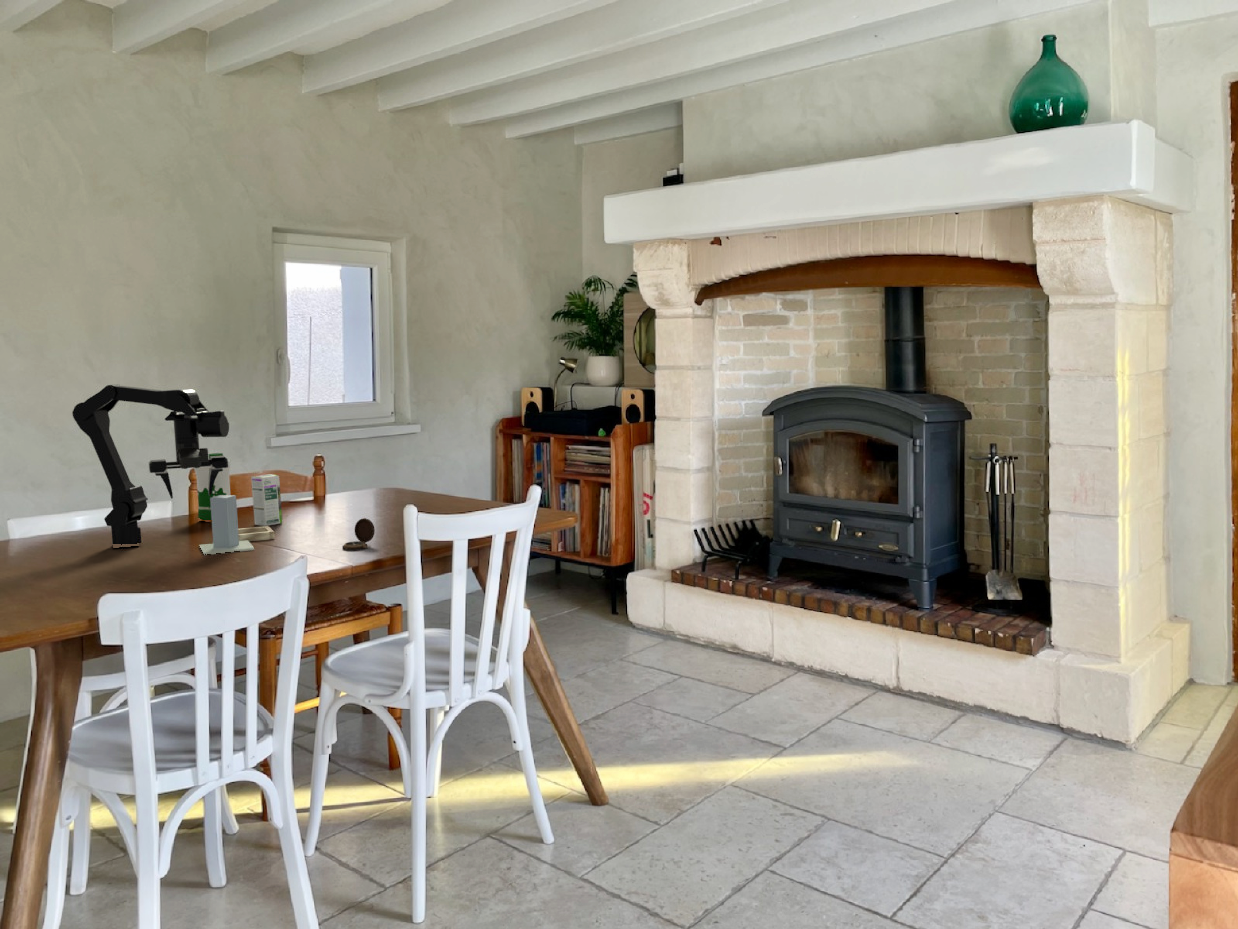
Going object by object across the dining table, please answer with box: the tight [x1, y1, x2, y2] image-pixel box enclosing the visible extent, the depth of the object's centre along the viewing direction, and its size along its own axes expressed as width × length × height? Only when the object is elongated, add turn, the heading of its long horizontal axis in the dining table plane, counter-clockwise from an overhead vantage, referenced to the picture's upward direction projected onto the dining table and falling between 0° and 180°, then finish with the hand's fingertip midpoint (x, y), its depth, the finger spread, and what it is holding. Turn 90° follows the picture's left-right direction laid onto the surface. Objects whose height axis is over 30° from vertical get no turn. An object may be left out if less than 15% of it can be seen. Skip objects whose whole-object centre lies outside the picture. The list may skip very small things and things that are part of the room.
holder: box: [238, 526, 275, 542], centre depth 273 cm, size 10×10×2 cm
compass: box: [341, 517, 376, 551], centre depth 257 cm, size 8×8×7 cm
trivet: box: [198, 540, 255, 556], centre depth 259 cm, size 12×12×1 cm
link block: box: [210, 494, 239, 548], centre depth 259 cm, size 4×4×13 cm
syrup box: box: [250, 473, 283, 527], centre depth 294 cm, size 6×6×14 cm
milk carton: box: [193, 452, 231, 520], centre depth 301 cm, size 9×9×20 cm
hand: (191, 496), depth 263 cm, fingers open, 9 cm apart
